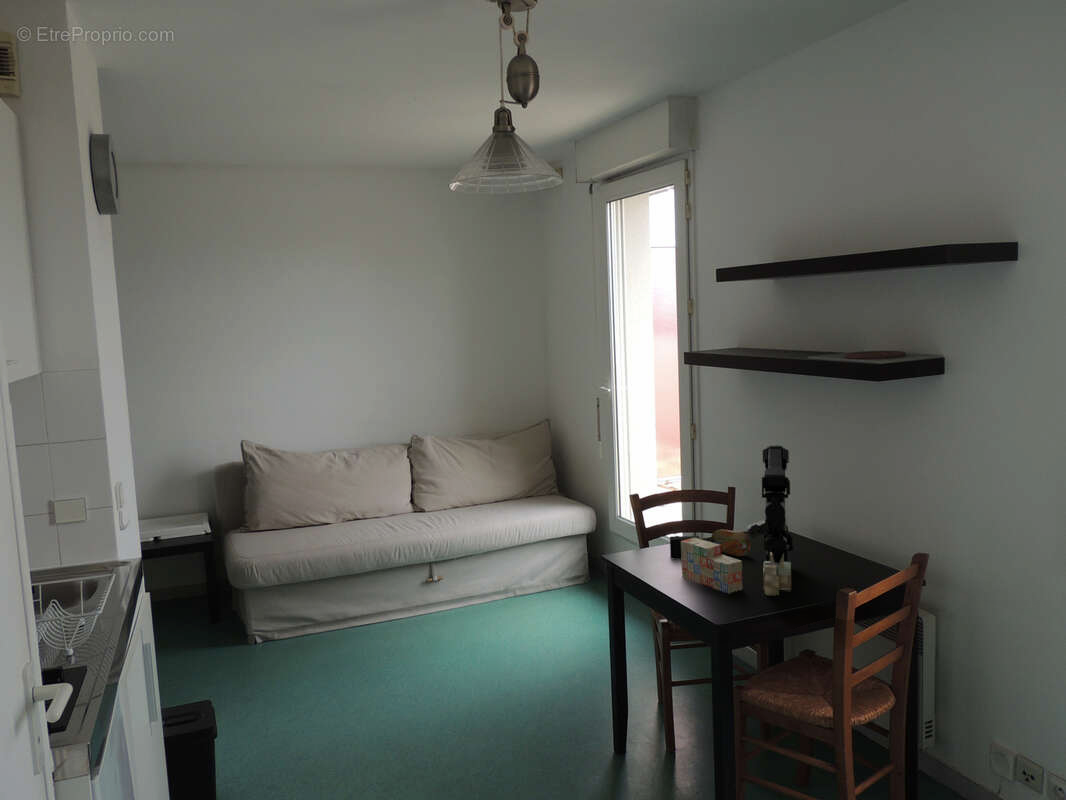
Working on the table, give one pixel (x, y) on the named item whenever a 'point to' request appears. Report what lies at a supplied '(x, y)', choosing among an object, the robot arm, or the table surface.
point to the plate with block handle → (781, 565)
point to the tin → (732, 542)
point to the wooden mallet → (770, 573)
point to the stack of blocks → (710, 565)
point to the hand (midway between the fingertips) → (777, 563)
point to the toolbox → (777, 582)
